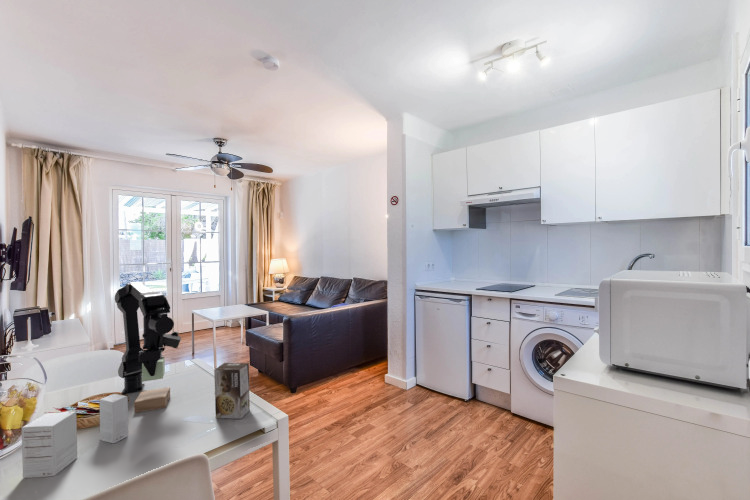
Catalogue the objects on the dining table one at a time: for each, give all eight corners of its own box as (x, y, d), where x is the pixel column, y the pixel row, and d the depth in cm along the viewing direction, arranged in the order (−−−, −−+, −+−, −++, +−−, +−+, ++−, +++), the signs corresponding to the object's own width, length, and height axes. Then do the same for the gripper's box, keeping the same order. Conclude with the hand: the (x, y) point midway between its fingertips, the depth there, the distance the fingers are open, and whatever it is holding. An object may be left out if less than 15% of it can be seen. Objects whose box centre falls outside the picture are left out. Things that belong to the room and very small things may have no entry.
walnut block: (141, 402, 120) (141, 391, 120) (170, 397, 124) (170, 387, 124) (134, 413, 112) (134, 402, 112) (165, 408, 116) (165, 397, 115)
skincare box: (129, 436, 98) (128, 395, 98) (113, 444, 94) (112, 402, 94) (115, 432, 100) (114, 393, 100) (99, 440, 96) (98, 399, 96)
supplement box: (48, 459, 87) (47, 412, 87) (78, 457, 88) (77, 410, 88) (21, 479, 80) (20, 427, 80) (54, 476, 81) (53, 425, 80)
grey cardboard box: (250, 409, 113) (249, 362, 113) (241, 419, 107) (240, 369, 107) (225, 408, 114) (224, 362, 114) (214, 418, 108) (213, 369, 107)
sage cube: (145, 375, 119) (144, 359, 119) (164, 372, 122) (164, 356, 122) (142, 381, 114) (142, 364, 114) (162, 378, 117) (162, 361, 117)
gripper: (177, 332, 113) (177, 378, 113) (181, 321, 130) (181, 361, 130) (137, 336, 108) (138, 384, 108) (147, 324, 125) (147, 365, 125)
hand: (153, 372), depth 118 cm, fingers closed on sage cube, 6 cm apart
